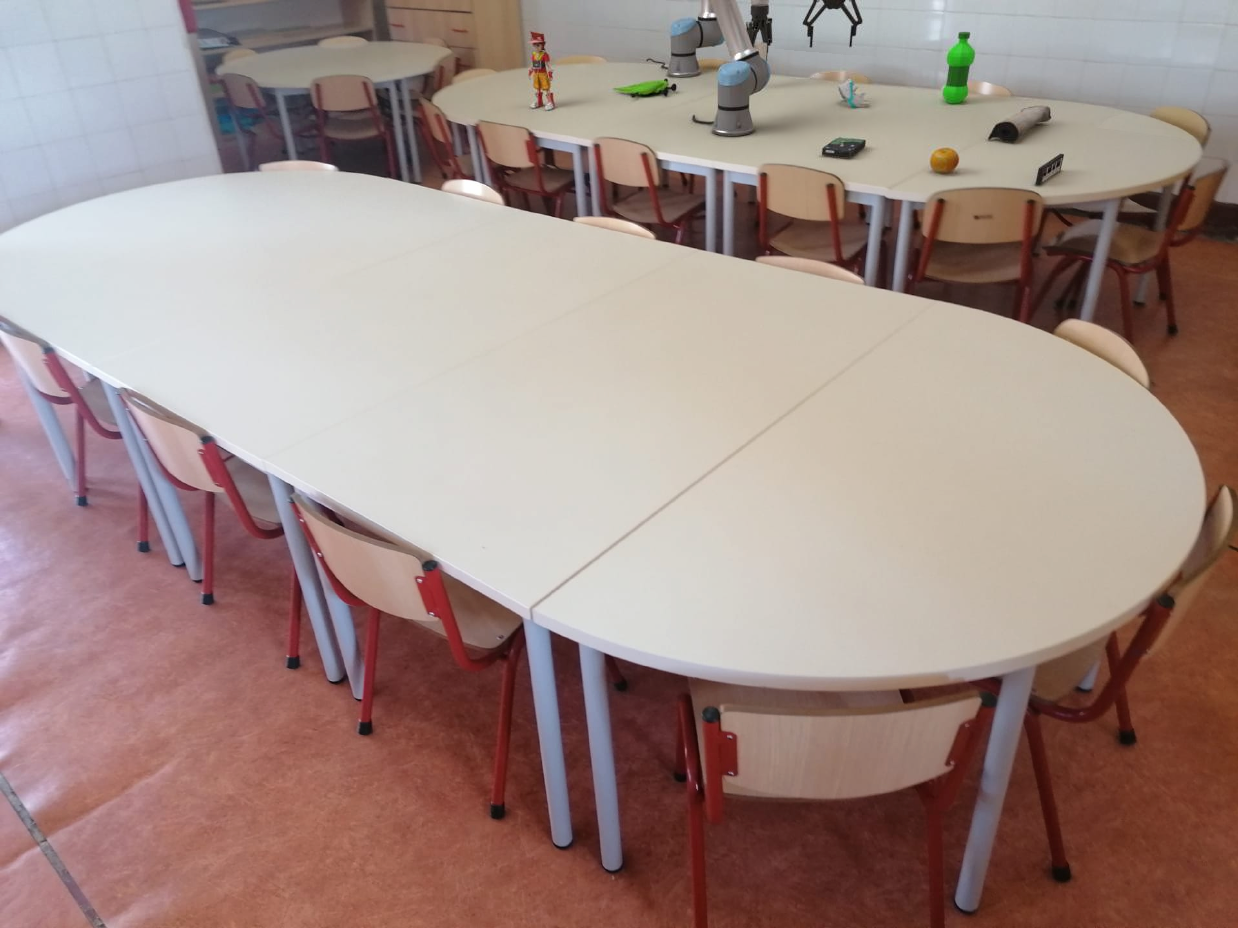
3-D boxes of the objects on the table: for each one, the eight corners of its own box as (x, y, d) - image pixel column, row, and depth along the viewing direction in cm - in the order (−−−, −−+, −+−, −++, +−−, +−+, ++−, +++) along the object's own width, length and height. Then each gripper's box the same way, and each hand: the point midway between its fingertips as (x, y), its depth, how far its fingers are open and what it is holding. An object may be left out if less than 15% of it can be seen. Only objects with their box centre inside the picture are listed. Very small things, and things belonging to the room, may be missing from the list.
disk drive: (850, 159, 300) (865, 147, 310) (851, 151, 299) (866, 139, 309) (821, 156, 305) (836, 144, 315) (821, 148, 303) (837, 136, 313)
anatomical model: (833, 78, 362) (858, 71, 361) (836, 104, 368) (860, 97, 367) (844, 86, 350) (869, 79, 349) (846, 113, 356) (871, 106, 355)
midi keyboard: (1039, 185, 269) (1043, 168, 266) (1035, 184, 270) (1038, 168, 267) (1060, 170, 279) (1064, 154, 277) (1056, 169, 280) (1060, 153, 277)
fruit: (924, 163, 281) (941, 140, 278) (925, 165, 289) (941, 143, 286) (946, 178, 280) (963, 155, 277) (947, 180, 288) (963, 158, 285)
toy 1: (525, 109, 381) (517, 32, 364) (534, 104, 388) (527, 28, 371) (550, 110, 377) (543, 32, 360) (559, 105, 384) (553, 28, 367)
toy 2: (686, 85, 398) (631, 84, 414) (685, 72, 395) (629, 72, 411) (651, 104, 381) (596, 103, 397) (650, 92, 378) (594, 91, 394)
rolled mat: (1018, 110, 327) (1042, 93, 319) (1032, 131, 328) (1056, 115, 319) (983, 133, 310) (1008, 115, 302) (998, 155, 310) (1023, 138, 302)
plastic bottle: (973, 101, 354) (984, 32, 339) (955, 106, 349) (966, 36, 335) (952, 97, 361) (962, 29, 346) (934, 102, 356) (944, 33, 342)
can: (754, 64, 390) (755, 41, 384) (769, 66, 386) (770, 43, 381) (745, 68, 385) (746, 45, 380) (760, 69, 381) (761, 46, 376)
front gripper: (874, -24, 303) (867, 44, 315) (799, -22, 308) (795, 45, 321) (873, -21, 297) (867, 48, 309) (797, -19, 303) (793, 49, 315)
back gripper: (749, 9, 364) (747, 69, 377) (783, 2, 374) (780, 61, 387) (736, 7, 369) (734, 66, 382) (769, 0, 379) (767, 58, 392)
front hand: (830, 47), depth 315 cm, fingers open, 13 cm apart
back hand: (757, 63), depth 385 cm, fingers closed on can, 7 cm apart
